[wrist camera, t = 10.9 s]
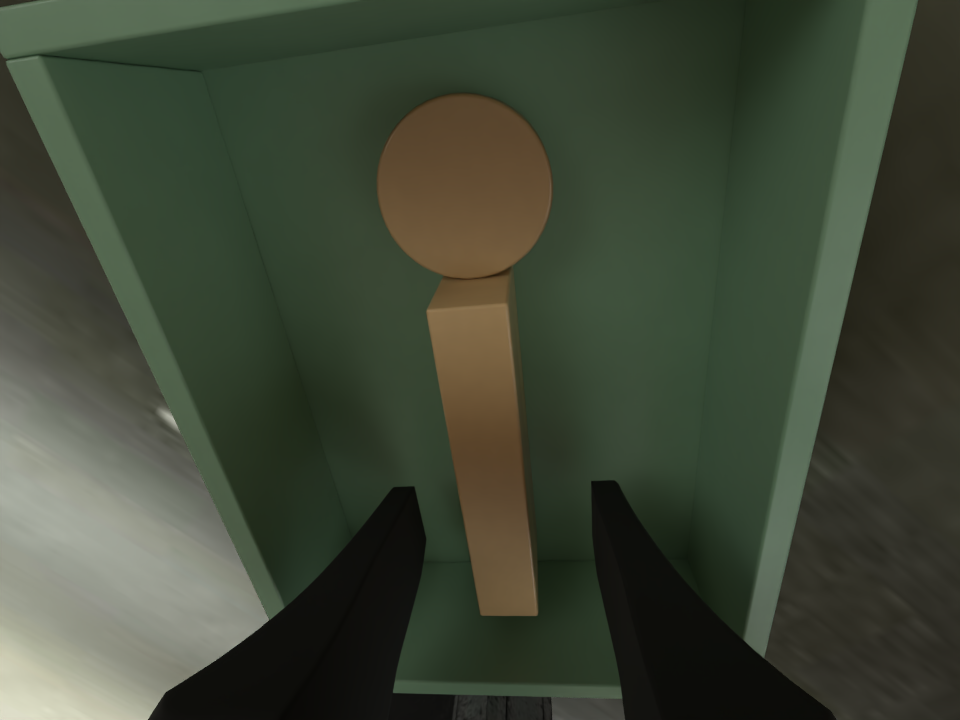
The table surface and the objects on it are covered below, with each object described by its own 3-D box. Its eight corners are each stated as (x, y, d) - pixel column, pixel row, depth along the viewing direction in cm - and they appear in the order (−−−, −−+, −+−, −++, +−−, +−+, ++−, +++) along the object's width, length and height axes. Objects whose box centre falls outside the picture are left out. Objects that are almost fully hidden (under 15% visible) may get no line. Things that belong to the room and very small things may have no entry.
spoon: (568, 531, 16) (576, 617, 13) (457, 532, 16) (443, 617, 14) (546, 82, 10) (552, 74, 7) (377, 105, 11) (326, 105, 8)
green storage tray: (700, 558, 16) (754, 703, 12) (352, 562, 18) (302, 691, 14) (773, -51, 9) (960, -170, 5) (180, 44, 11) (-22, 9, 7)
